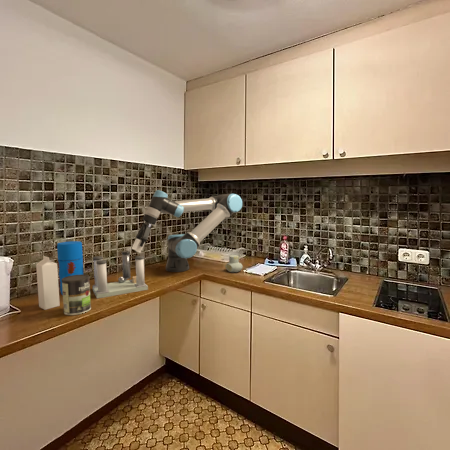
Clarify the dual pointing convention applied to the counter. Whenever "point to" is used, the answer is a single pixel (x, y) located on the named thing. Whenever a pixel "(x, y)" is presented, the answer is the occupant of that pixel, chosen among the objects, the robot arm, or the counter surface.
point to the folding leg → (125, 266)
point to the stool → (117, 288)
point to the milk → (47, 284)
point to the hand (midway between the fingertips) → (135, 250)
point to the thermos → (69, 260)
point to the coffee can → (76, 294)
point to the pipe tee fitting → (234, 264)
